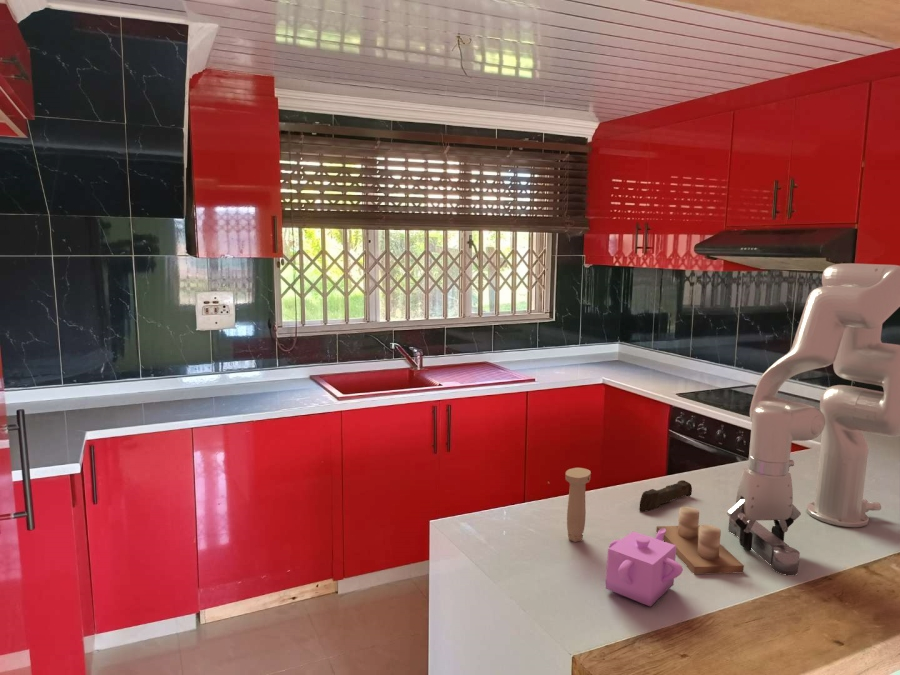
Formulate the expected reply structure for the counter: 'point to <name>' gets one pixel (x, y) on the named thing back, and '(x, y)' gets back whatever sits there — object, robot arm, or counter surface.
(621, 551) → the teapot
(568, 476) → the handle
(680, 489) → the dark fuzzy dog bone
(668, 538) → the tool rest
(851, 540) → the counter surface
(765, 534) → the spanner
